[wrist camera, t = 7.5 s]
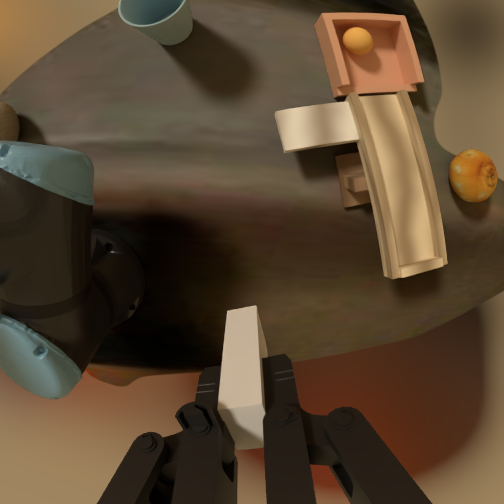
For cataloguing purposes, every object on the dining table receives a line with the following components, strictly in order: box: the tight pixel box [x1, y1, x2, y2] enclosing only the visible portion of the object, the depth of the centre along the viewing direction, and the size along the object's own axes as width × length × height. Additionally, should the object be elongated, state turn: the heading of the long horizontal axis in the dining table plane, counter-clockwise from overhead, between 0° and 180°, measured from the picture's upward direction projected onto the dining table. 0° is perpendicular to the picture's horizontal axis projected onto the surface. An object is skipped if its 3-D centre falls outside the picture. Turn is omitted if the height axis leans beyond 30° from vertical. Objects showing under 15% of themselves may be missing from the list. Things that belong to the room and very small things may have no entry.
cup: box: [119, 0, 193, 45], centre depth 26 cm, size 8×8×10 cm
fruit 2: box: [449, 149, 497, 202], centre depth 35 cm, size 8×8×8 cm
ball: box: [343, 27, 373, 55], centre depth 30 cm, size 4×4×4 cm
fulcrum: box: [335, 152, 371, 208], centre depth 36 cm, size 12×7×5 cm, turn 102°
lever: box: [275, 90, 447, 279], centre depth 32 cm, size 17×22×3 cm
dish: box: [314, 13, 424, 98], centre depth 31 cm, size 12×11×4 cm
